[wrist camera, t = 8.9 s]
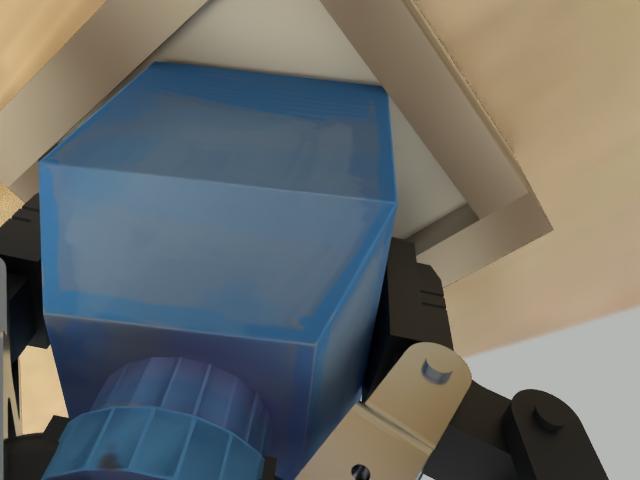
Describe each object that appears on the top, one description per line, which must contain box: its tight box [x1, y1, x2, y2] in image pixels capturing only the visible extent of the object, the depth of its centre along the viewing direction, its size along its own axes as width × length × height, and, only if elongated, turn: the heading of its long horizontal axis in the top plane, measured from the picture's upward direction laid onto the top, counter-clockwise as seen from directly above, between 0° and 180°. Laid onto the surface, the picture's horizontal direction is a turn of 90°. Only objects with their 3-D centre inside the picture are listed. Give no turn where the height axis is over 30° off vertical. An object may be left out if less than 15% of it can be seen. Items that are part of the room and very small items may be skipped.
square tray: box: [0, 0, 553, 288], centre depth 18 cm, size 12×12×5 cm
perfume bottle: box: [38, 61, 398, 480], centre depth 11 cm, size 6×6×12 cm
